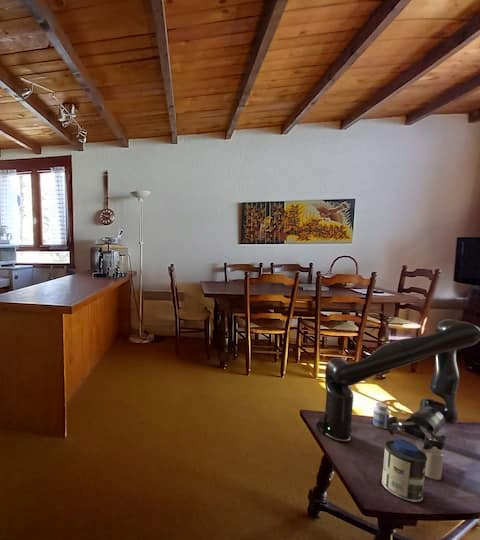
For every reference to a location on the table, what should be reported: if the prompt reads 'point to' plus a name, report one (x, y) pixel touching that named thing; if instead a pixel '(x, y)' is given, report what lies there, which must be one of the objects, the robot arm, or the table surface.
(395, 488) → the coffee can
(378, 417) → the pill bottle
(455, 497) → the table surface
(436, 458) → the jar
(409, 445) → the lid
